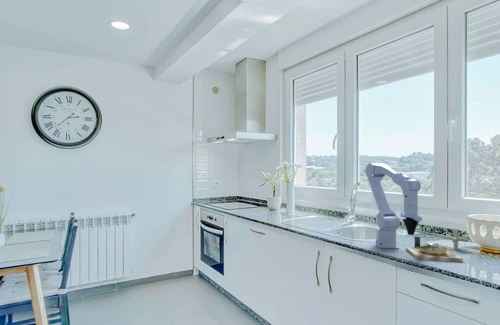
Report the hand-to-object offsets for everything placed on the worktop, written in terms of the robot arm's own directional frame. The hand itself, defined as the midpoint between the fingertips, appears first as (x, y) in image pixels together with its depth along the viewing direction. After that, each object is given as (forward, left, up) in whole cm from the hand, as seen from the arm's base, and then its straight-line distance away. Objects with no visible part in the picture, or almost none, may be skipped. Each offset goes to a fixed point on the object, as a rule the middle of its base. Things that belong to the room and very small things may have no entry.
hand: (410, 234), depth 146 cm
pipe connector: (+25, +15, -9) cm, 31 cm away
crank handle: (+7, -2, -7) cm, 10 cm away
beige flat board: (+9, -1, -9) cm, 13 cm away
